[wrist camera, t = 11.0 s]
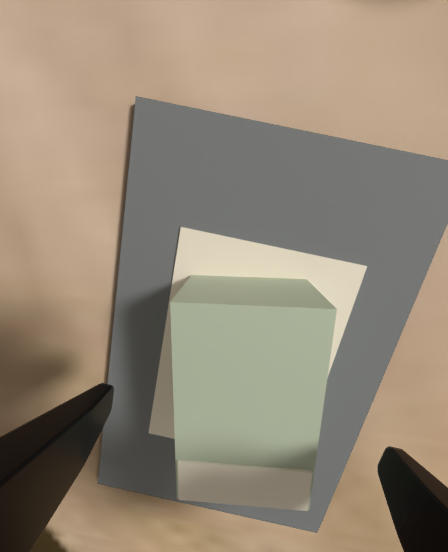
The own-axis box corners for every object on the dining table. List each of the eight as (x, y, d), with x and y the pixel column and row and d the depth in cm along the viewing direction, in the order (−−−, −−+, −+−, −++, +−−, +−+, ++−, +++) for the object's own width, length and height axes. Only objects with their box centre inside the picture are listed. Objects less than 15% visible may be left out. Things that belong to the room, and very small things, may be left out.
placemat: (315, 524, 15) (317, 535, 14) (101, 476, 15) (96, 485, 15) (463, 166, 10) (474, 164, 9) (140, 100, 10) (134, 94, 10)
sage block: (306, 279, 11) (338, 310, 7) (290, 431, 13) (309, 513, 9) (191, 275, 11) (169, 303, 8) (193, 424, 13) (176, 501, 10)
